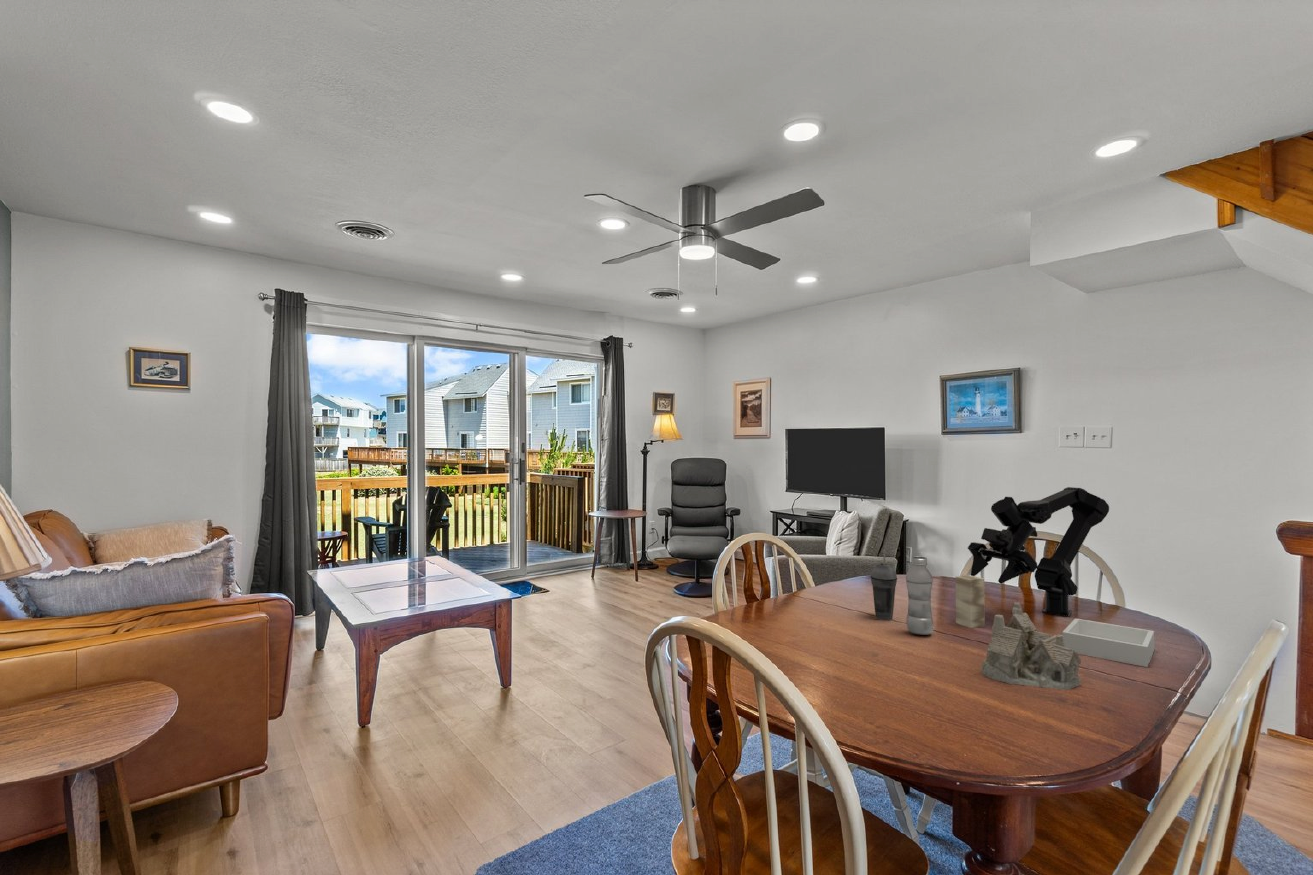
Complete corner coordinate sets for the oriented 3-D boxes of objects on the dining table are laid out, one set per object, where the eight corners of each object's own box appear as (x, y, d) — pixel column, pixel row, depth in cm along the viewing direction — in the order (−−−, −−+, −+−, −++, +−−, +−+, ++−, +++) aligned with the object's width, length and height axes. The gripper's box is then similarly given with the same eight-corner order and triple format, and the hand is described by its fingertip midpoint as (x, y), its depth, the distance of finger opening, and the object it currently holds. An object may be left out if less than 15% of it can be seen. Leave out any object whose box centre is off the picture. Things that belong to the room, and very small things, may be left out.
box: (1075, 635, 159) (1075, 618, 159) (1154, 649, 148) (1154, 631, 148) (1062, 650, 147) (1062, 632, 147) (1147, 667, 136) (1147, 646, 136)
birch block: (969, 621, 172) (969, 575, 172) (984, 626, 167) (984, 578, 168) (955, 623, 170) (955, 576, 171) (970, 628, 166) (970, 580, 166)
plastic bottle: (938, 637, 157) (937, 560, 158) (911, 637, 158) (911, 559, 158) (927, 630, 164) (927, 555, 164) (902, 630, 164) (901, 555, 164)
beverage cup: (893, 614, 179) (893, 546, 179) (901, 622, 171) (900, 550, 172) (867, 614, 179) (867, 546, 180) (874, 621, 172) (873, 550, 172)
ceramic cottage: (969, 668, 135) (974, 601, 135) (1022, 662, 141) (1027, 597, 141) (1034, 700, 121) (1040, 625, 120) (1091, 691, 127) (1097, 620, 126)
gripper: (972, 514, 182) (943, 554, 178) (1029, 522, 164) (998, 566, 160) (992, 540, 184) (964, 579, 180) (1050, 550, 167) (1021, 593, 163)
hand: (985, 578), depth 171 cm, fingers open, 9 cm apart
